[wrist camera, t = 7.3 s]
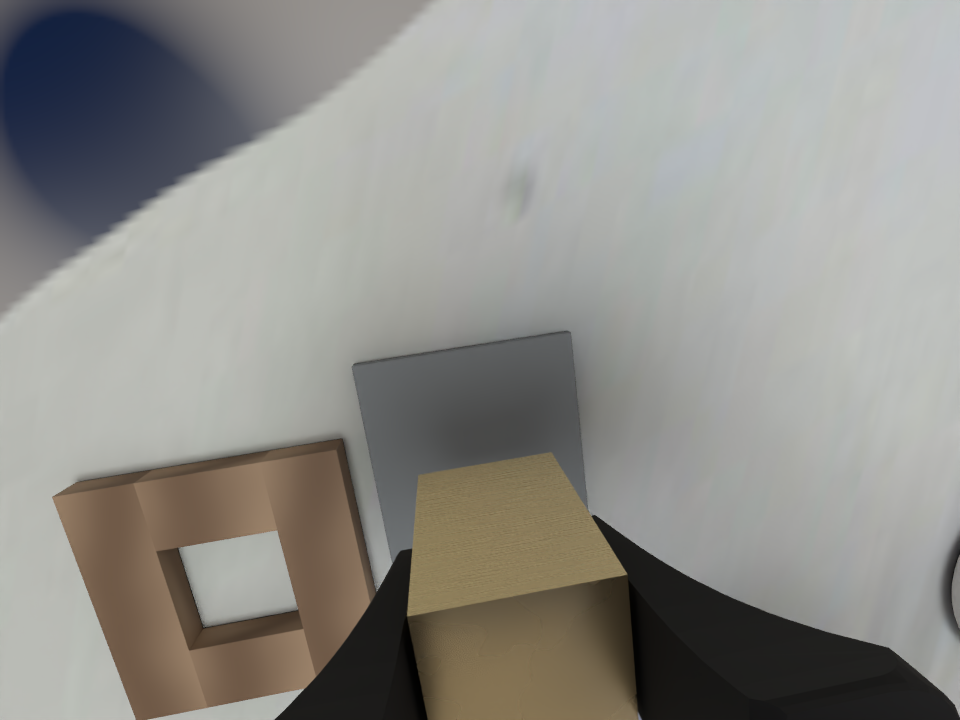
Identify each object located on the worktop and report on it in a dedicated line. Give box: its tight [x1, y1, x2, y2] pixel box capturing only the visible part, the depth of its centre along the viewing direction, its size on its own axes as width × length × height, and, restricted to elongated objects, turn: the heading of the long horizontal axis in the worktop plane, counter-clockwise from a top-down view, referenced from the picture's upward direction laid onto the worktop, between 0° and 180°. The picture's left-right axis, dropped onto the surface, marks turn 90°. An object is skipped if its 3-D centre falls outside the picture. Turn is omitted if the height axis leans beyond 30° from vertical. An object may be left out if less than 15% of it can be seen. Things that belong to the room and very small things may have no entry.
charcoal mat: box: [352, 331, 588, 563], centre depth 20 cm, size 9×9×1 cm
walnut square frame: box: [52, 439, 376, 720], centre depth 19 cm, size 11×11×1 cm
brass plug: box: [407, 452, 638, 720], centre depth 11 cm, size 4×4×6 cm
